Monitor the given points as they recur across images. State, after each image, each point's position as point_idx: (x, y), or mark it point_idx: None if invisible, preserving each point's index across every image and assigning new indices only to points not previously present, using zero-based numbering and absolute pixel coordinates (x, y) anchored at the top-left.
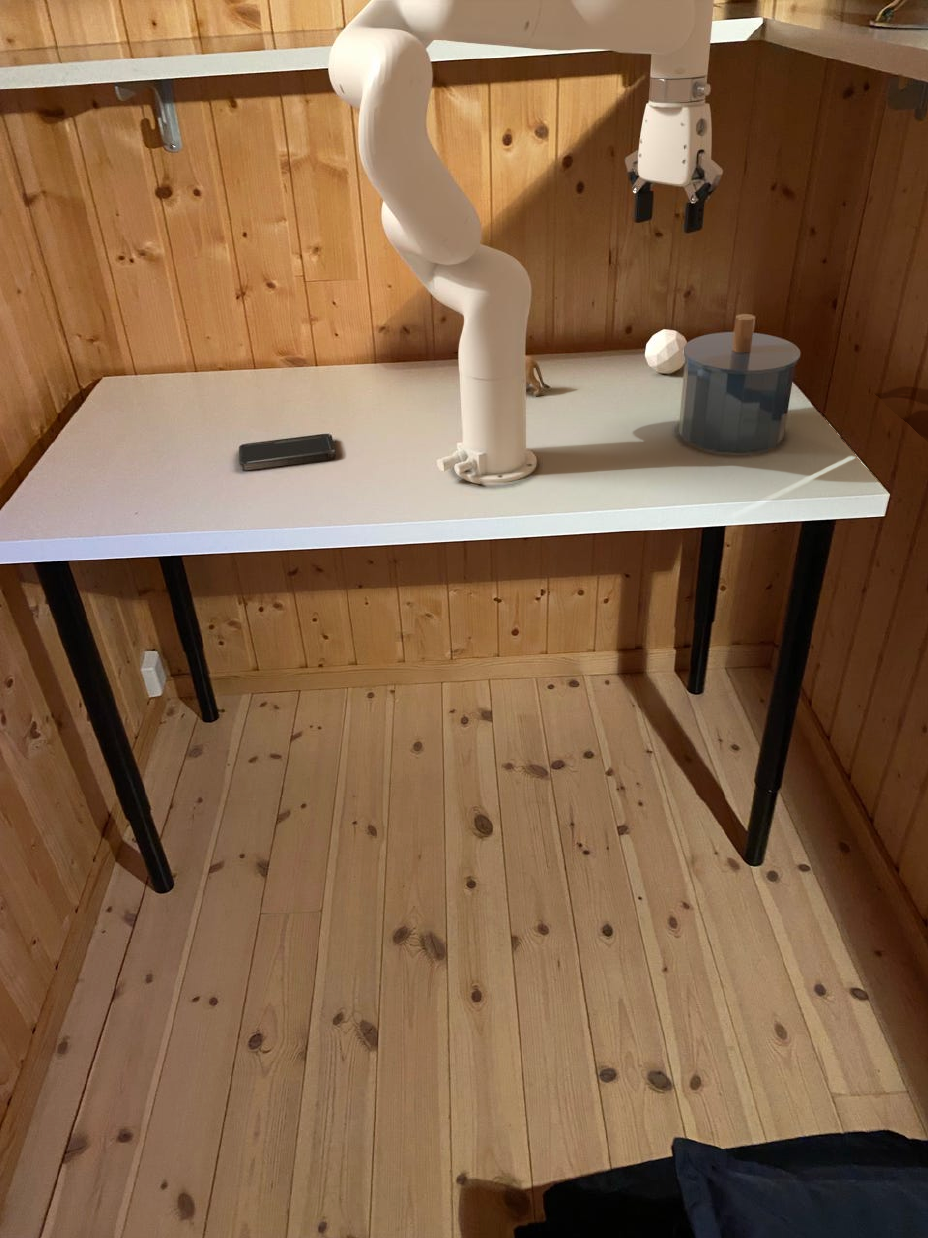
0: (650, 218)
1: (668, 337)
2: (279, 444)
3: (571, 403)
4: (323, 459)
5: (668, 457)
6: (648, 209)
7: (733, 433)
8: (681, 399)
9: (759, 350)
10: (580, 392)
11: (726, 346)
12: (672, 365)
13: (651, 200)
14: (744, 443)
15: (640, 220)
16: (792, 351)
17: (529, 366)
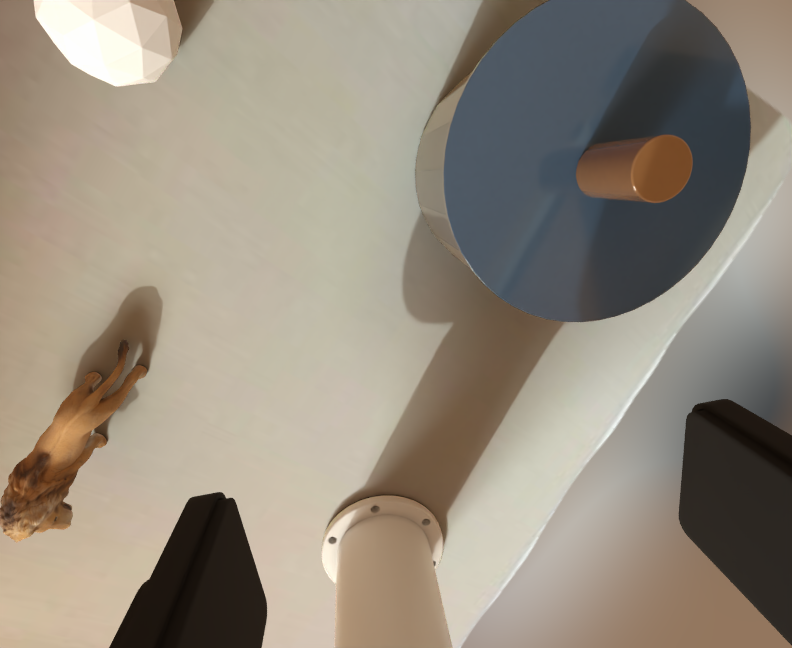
0: (237, 511)
1: (115, 20)
2: None
3: (215, 336)
4: None
5: (510, 325)
6: (224, 596)
7: None
8: (468, 266)
9: (635, 129)
10: (168, 290)
11: (554, 183)
12: (178, 45)
13: (190, 643)
14: None
15: (262, 598)
16: (706, 54)
17: (105, 414)
